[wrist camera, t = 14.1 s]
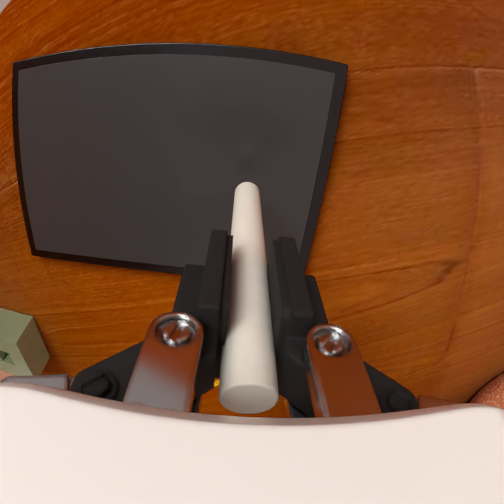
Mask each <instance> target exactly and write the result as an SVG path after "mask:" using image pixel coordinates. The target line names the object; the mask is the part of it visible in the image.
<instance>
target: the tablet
mask: <svg viewBox="0 0 504 504" xmlns="http://www.w3.org/2000/svg"><path fill="white" fill-rule="evenodd" d="M347 70H348V65H347V64H343V63H339V62H334V61H330V60H325V59H321V58H316V57H311V56H306V55H300V54H295V53H289V52H282V51H276V50H269V49H261V48H253V47H243V46H233V45H219V44H201V43H144V44H126V45H113V46H102V47H93V48H85V49H78V50H71V51H65V52H59V53H54V54H48V55H43V56H38V57H34V58H29V59H25V60H21V61H17V62H14V63H13V77H12V119H13V139H14V152H15V162H16V171H17V179H18V186H19V193H20V199H21V205H22V211H23V216H24V221H25V226H26V231H27V236H28V240H29V245H30V249H31V253H32V255H33V256H40V257H47V258H54V259H61V260H68V261H75V262H83V263H90V264H98V265H106V266H114V267H122V268H130V269H138V270H147V271H156V272H164V273H173V274H183V271H184V267H185V264H195V265H205V262H206V257H207V252H208V247H209V242H210V237H211V232H212V229H214V230H225V231H228V232H227V235H231V228H232V217H233V207H234V196H235V190H236V188H237V186H238V185H239V184H241V183H244V182H251V183H253V184H255V185H256V186H257V187H258V189H259V194H260V203H261V213H262V222H263V232H264V242H265V252H266V262H267V264H268V258H269V253H270V247H271V242H272V239H273V240H277V239H278V237H279V236H283V237H292V238H295V241H296V245H297V249H298V253H299V257H300V260H301V264H302V268H303V272H305V269H306V265H307V261H308V257H309V253H310V249H311V245H312V241H313V237H314V232H315V228H316V224H317V220H318V215H319V211H320V207H321V202H322V198H323V194H324V189H325V185H326V180H327V175H328V171H329V166H330V161H331V156H332V152H333V147H334V142H335V137H336V131H337V126H338V121H339V116H340V110H341V105H342V99H343V94H344V88H345V82H346V76H347Z"/></svg>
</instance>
